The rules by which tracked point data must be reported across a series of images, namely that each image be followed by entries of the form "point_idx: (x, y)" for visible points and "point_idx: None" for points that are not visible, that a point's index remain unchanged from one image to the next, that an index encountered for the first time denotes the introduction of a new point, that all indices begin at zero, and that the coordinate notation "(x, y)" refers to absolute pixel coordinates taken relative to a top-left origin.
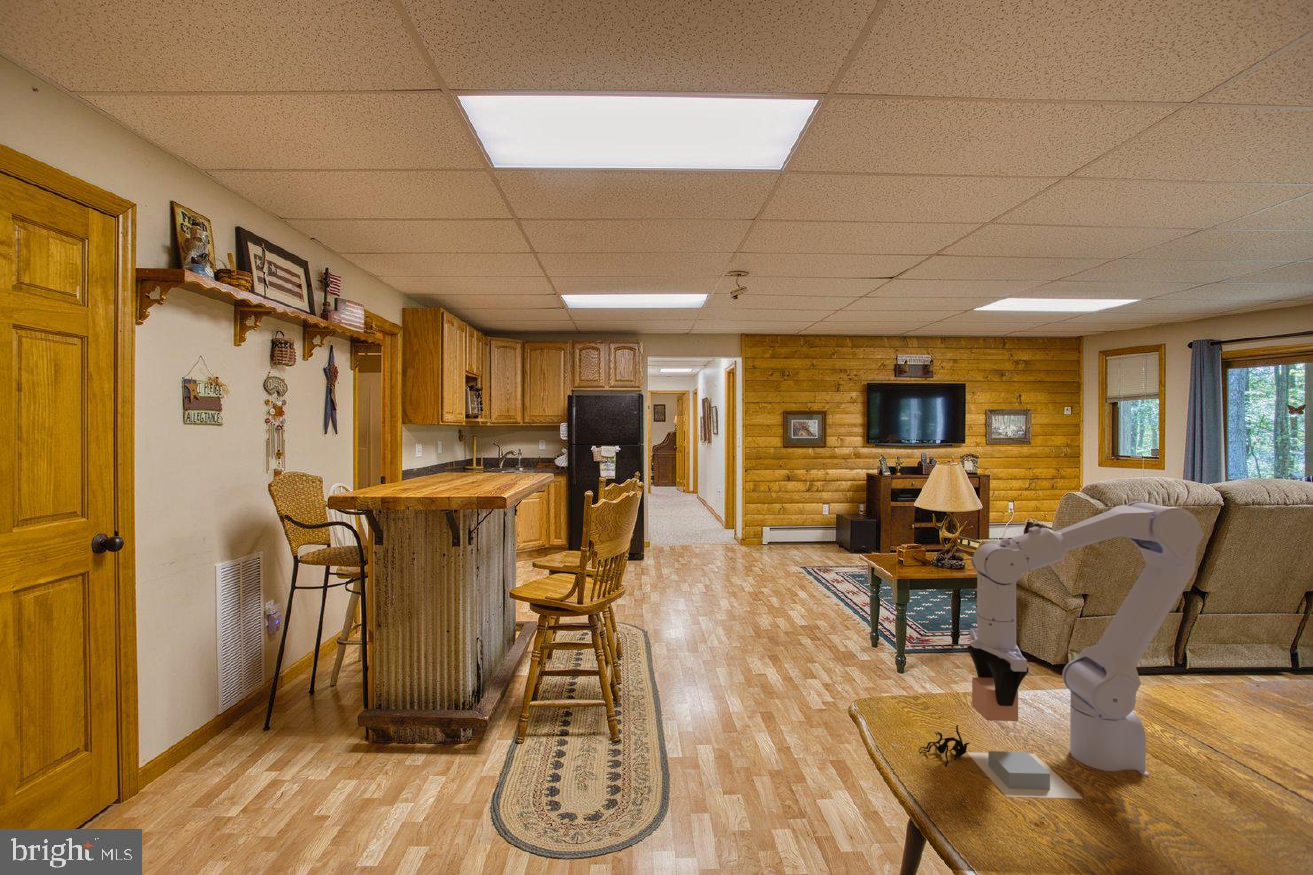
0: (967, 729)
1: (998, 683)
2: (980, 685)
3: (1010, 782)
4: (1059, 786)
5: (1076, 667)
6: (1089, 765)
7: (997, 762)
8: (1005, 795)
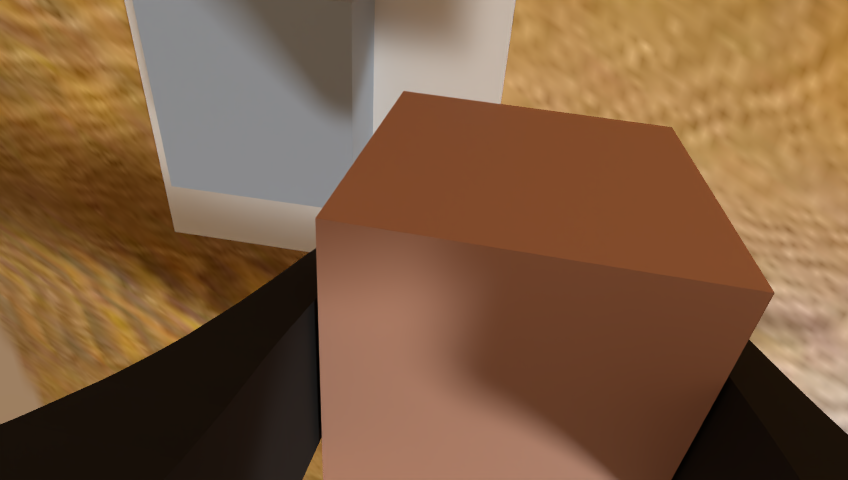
0: (811, 139)
1: (119, 376)
2: (494, 240)
3: None
4: (236, 205)
5: None
6: None
7: None
8: None
